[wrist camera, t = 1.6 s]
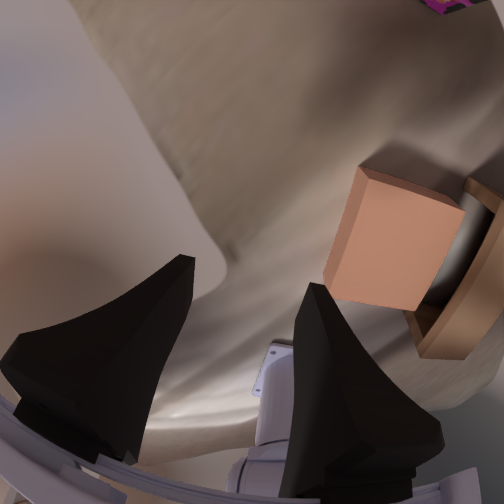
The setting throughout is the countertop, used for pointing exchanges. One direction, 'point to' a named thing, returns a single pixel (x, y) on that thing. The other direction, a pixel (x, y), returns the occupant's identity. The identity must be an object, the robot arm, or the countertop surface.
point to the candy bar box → (449, 5)
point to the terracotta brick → (390, 241)
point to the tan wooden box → (466, 293)
